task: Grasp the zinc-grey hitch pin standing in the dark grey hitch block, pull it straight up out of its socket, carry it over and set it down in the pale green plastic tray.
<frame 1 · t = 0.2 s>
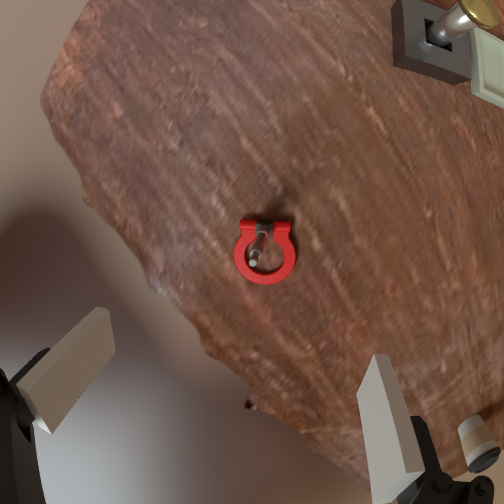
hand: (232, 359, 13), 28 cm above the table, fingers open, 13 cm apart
hitch pin: (448, 27, 20), in the hitch block
hitch block: (424, 45, 28), on the table
tray: (500, 75, 26), on the table
tow hook: (265, 251, 41), on the table
coffee cup: (468, 423, 49), on the table
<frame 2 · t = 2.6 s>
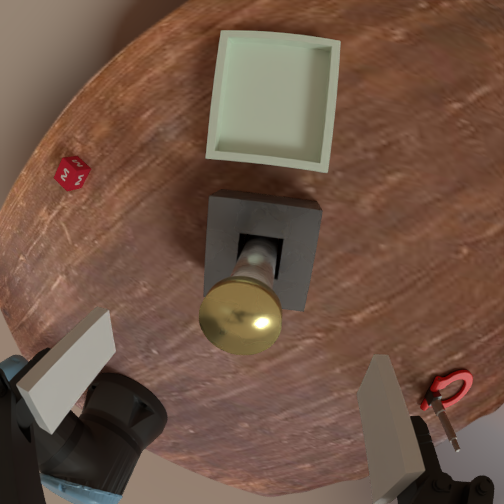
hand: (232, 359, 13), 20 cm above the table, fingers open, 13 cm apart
hitch pin: (255, 269, 24), in the hitch block
hitch block: (263, 241, 32), on the table
tray: (274, 99, 27), on the table
dice: (80, 171, 32), on the table
tow hook: (447, 387, 36), on the table
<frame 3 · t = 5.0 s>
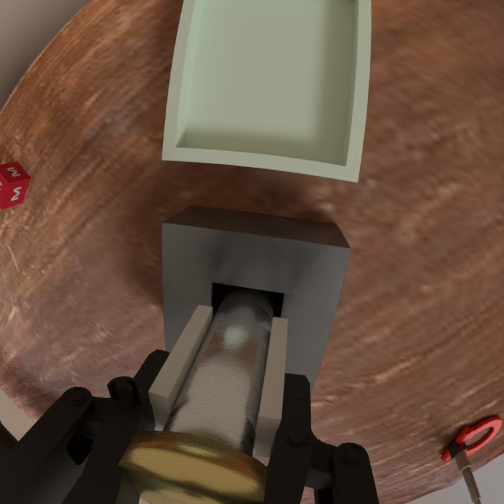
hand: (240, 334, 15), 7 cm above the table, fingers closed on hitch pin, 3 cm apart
hitch pin: (235, 351, 14), in the hitch block, touching gripper
hitch block: (255, 282, 21), on the table
tray: (272, 66, 16), on the table
dice: (21, 181, 22), on the table
tow hook: (473, 434, 26), on the table
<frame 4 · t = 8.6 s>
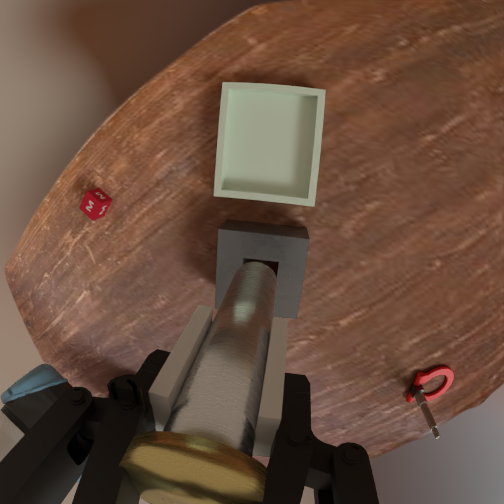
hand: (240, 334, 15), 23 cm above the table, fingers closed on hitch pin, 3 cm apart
hitch pin: (235, 351, 14), point 25 cm above the table, touching gripper
hitch block: (263, 261, 39), on the table
tray: (270, 142, 34), on the table
dice: (102, 201, 39), on the table
tow hook: (430, 382, 43), on the table
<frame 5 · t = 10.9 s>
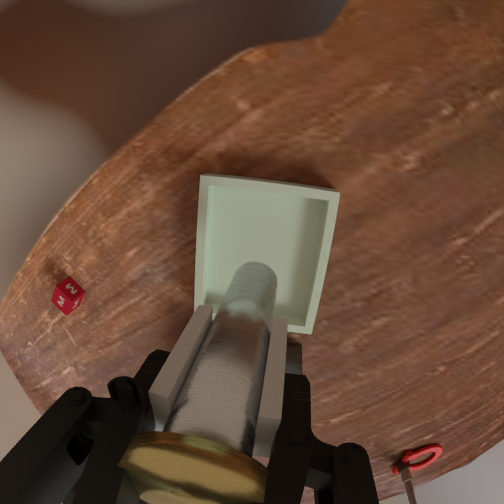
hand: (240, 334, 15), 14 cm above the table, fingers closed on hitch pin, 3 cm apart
hitch pin: (235, 351, 14), point 15 cm above the table, touching gripper
hitch block: (251, 371, 33), on the table
tray: (262, 251, 28), on the table
dice: (75, 290, 34), on the table
tow hook: (419, 455, 37), on the table
when the fingers open (8 cm above the table, at t = 12.6 s): hitch pin stays where it is, resting on tray.
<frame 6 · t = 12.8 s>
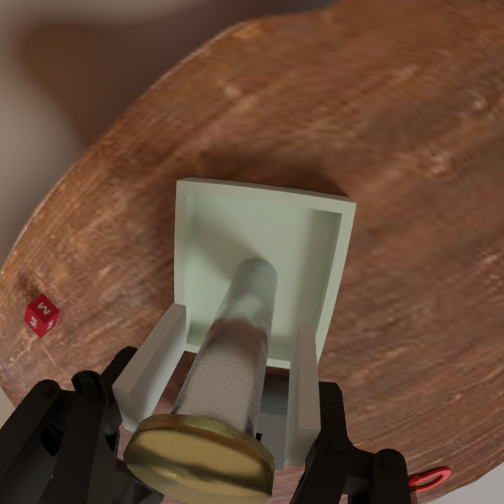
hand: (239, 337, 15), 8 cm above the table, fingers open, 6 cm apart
hitch pin: (237, 343, 15), in the tray, point 9 cm above the table
hitch block: (246, 404, 28), on the table
tray: (257, 274, 23), on the table
dice: (50, 309, 28), on the table
tow hook: (426, 478, 32), on the table
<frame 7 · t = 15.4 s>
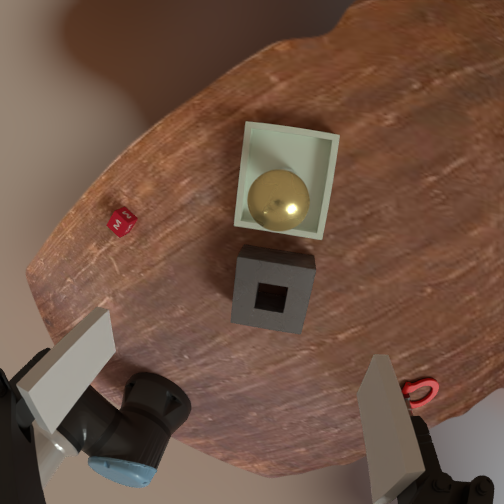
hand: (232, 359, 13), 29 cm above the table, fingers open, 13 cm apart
hitch pin: (283, 187, 30), in the tray, point 9 cm above the table
hitch block: (273, 281, 44), on the table
tray: (286, 178, 38), on the table
dice: (127, 219, 44), on the table
tow hook: (417, 391, 48), on the table
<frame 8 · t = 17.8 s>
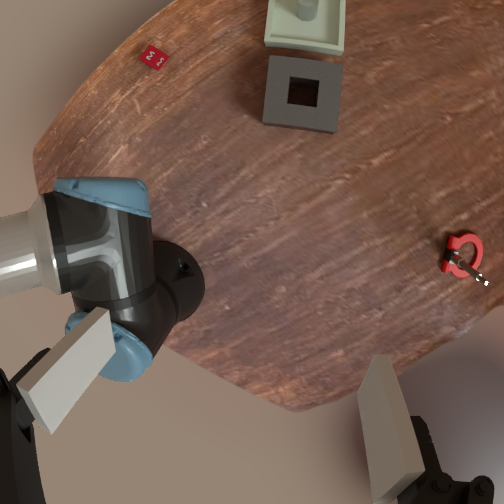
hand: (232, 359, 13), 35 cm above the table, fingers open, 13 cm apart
hitch block: (302, 98, 39), on the table
tray: (306, 15, 34), on the table
dice: (158, 60, 40), on the table
tow hook: (462, 253, 44), on the table
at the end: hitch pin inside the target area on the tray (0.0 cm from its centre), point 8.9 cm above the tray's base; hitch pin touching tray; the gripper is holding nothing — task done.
